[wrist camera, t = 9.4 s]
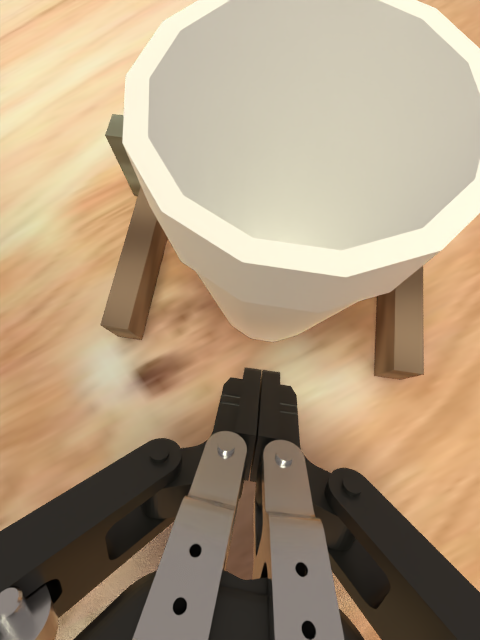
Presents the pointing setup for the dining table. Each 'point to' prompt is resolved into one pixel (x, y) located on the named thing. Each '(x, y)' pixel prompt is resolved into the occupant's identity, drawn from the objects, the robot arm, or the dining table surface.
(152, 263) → the dock
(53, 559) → the robot arm
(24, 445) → the dining table surface
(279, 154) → the foam cup
